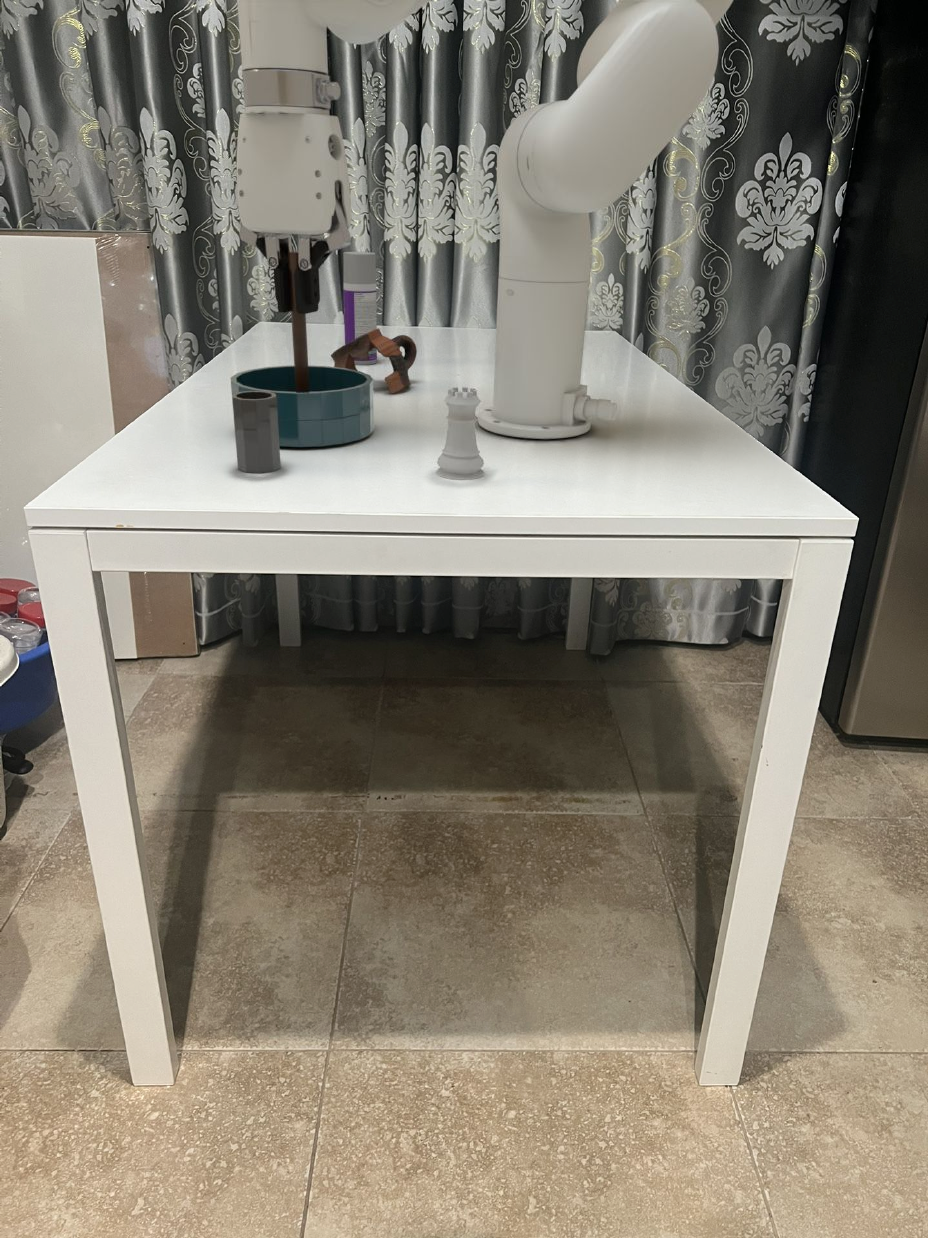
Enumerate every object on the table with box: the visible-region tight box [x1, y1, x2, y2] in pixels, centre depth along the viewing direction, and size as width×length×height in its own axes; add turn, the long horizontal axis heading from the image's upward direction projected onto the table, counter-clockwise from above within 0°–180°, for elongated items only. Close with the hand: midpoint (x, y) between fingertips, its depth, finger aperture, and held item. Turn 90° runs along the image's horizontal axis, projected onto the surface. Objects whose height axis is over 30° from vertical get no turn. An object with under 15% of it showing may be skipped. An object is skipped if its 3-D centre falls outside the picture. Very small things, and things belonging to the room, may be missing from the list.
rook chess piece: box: [435, 386, 485, 481], centre depth 82 cm, size 4×4×8 cm
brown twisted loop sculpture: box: [330, 327, 418, 395], centre depth 118 cm, size 12×10×8 cm
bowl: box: [230, 364, 375, 448], centre depth 93 cm, size 14×14×6 cm
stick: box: [288, 250, 310, 392], centre depth 91 cm, size 1×1×16 cm
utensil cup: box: [231, 391, 282, 475], centre depth 81 cm, size 4×4×7 cm
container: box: [343, 251, 378, 366], centre depth 131 cm, size 5×5×15 cm
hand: (298, 310), depth 89 cm, fingers closed on stick, 1 cm apart
